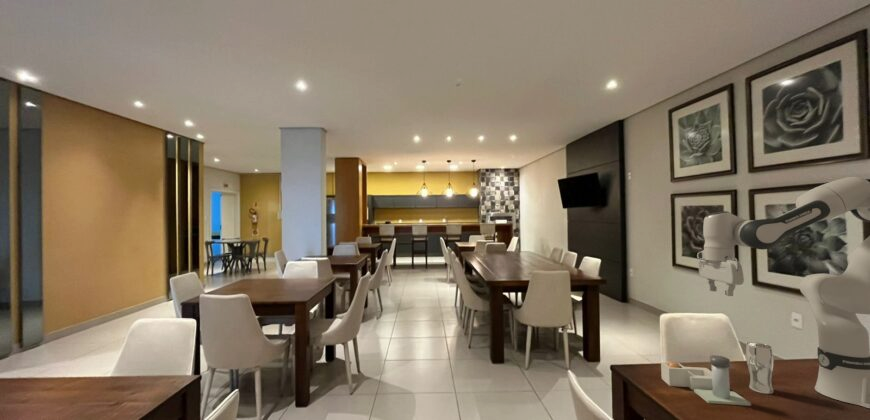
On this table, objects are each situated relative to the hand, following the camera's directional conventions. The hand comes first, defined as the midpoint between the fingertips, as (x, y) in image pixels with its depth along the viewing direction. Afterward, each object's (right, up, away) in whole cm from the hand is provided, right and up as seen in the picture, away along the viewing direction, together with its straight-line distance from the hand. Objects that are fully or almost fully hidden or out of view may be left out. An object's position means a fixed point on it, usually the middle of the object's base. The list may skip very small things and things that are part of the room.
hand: (720, 293), depth 131 cm
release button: (-19, -28, -3) cm, 34 cm away
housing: (-14, -31, -4) cm, 34 cm away
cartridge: (-12, -30, -15) cm, 35 cm away
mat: (-12, -31, -15) cm, 36 cm away
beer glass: (+6, -31, -10) cm, 33 cm away
